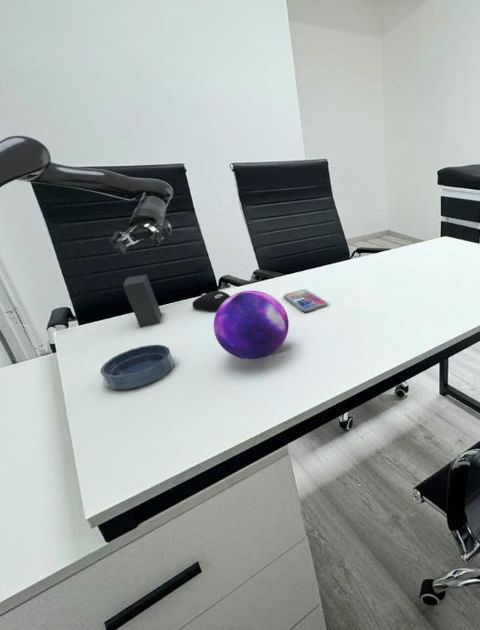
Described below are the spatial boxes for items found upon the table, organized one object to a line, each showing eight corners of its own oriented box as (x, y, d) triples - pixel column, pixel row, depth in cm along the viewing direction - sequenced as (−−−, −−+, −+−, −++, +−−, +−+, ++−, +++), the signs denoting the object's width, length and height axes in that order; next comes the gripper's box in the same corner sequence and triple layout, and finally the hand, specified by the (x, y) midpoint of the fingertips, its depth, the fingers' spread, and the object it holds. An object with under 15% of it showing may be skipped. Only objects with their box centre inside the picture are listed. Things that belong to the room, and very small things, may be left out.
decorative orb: (242, 338, 95) (225, 281, 88) (302, 336, 94) (290, 279, 87) (211, 374, 81) (189, 310, 75) (281, 372, 81) (265, 307, 74)
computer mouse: (221, 314, 107) (217, 301, 106) (190, 309, 111) (185, 296, 110) (241, 303, 114) (238, 291, 112) (210, 299, 118) (206, 287, 116)
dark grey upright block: (140, 327, 102) (122, 285, 97) (143, 317, 108) (126, 277, 102) (159, 323, 104) (143, 281, 99) (161, 314, 109) (146, 274, 104)
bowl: (97, 397, 76) (89, 382, 74) (120, 364, 86) (114, 351, 85) (166, 383, 79) (160, 369, 77) (180, 353, 89) (175, 340, 88)
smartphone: (304, 288, 120) (328, 302, 109) (305, 291, 120) (328, 305, 110) (281, 294, 115) (303, 310, 105) (282, 297, 116) (304, 313, 105)
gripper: (114, 213, 110) (98, 241, 98) (167, 202, 112) (158, 228, 101) (129, 236, 115) (117, 265, 104) (180, 224, 118) (173, 252, 106)
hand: (137, 247), depth 102 cm, fingers open, 8 cm apart
